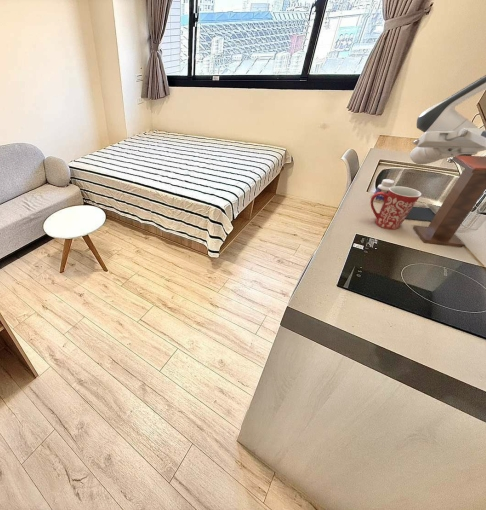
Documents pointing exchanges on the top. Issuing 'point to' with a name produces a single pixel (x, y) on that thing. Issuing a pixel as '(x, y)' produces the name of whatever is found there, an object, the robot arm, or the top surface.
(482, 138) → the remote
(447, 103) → the robot arm
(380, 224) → the mug
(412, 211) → the mat
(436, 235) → the shelf stand
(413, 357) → the top surface
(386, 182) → the pill bottle
